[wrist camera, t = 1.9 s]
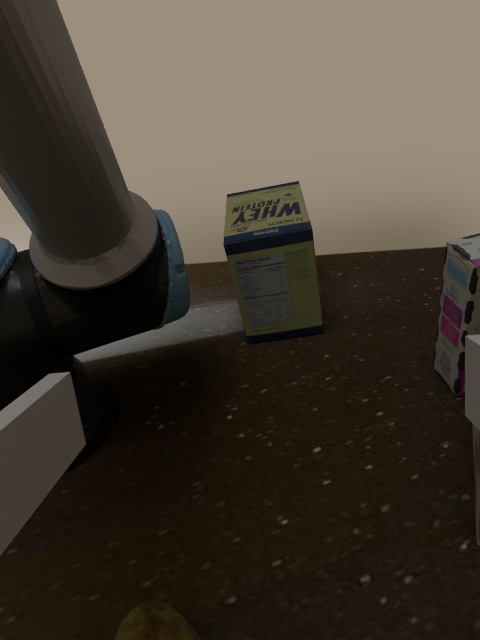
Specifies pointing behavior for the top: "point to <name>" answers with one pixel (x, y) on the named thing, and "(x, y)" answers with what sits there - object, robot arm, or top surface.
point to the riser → (477, 477)
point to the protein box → (273, 263)
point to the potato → (155, 623)
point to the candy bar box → (458, 310)
